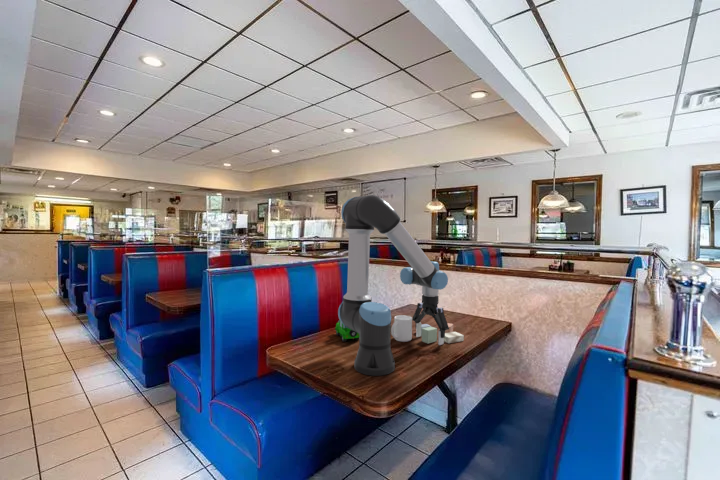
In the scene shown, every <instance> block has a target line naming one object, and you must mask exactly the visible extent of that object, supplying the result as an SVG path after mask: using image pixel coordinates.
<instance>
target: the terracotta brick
mask: <svg viewBox="0 0 720 480" xmlns="http://www.w3.org/2000/svg"><path fill="white" fill-rule="evenodd" d="M447 324H448V327H449V329H448V330H445V333H450V332H454V323H449V322H447Z"/></svg>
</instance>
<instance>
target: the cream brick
mask: <svg viewBox="0 0 720 480" xmlns="http://www.w3.org/2000/svg"><path fill="white" fill-rule="evenodd" d="M464 340H465V335H464V334H462V333H460V332H457V331H453V332H450V333H445V337H444V343H447V344H453V343H459V342H465V341H464Z"/></svg>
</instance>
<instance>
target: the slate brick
mask: <svg viewBox="0 0 720 480" xmlns="http://www.w3.org/2000/svg"><path fill="white" fill-rule="evenodd" d="M426 327H432V325H430V324H428V323H423V324H422V323H421V336H422V328H426Z"/></svg>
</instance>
